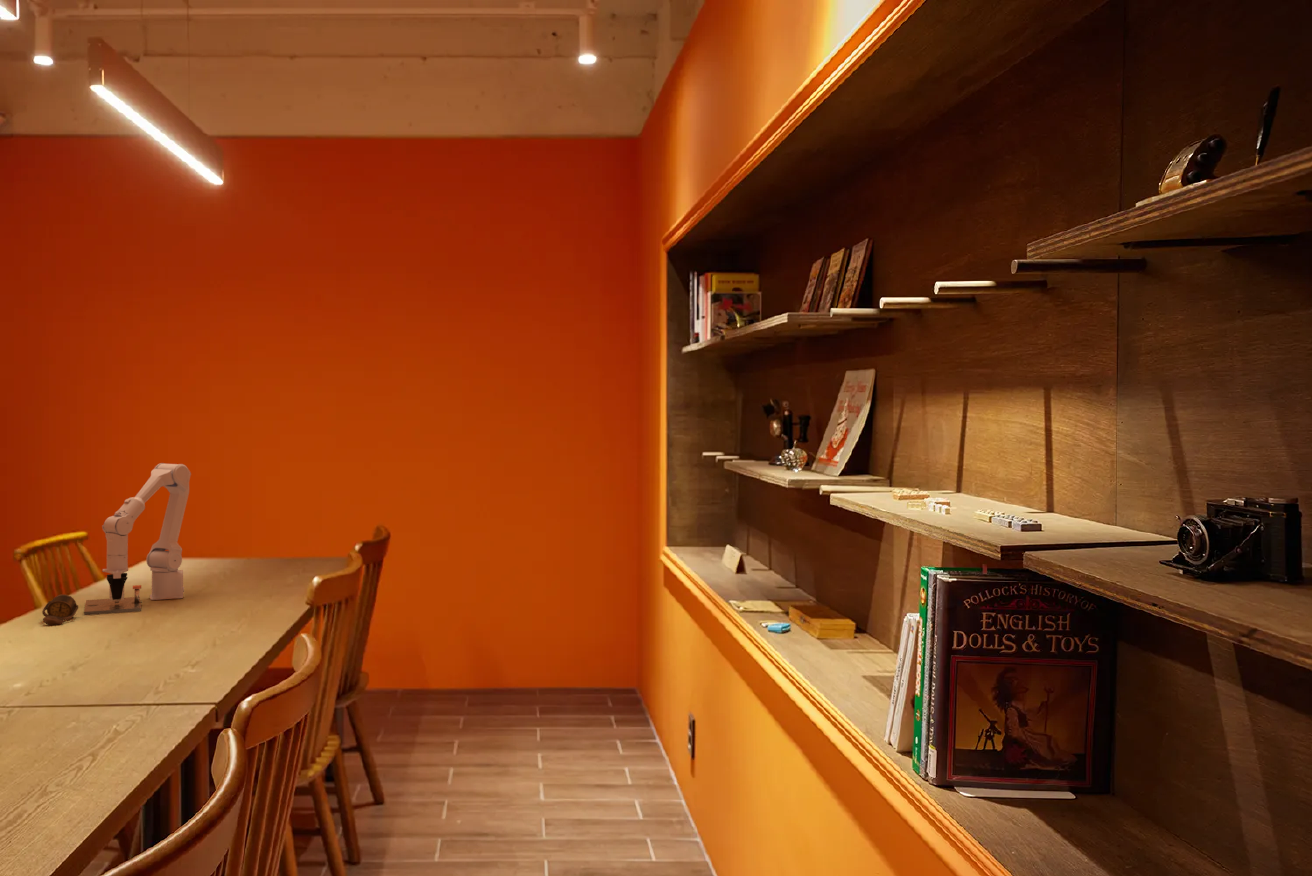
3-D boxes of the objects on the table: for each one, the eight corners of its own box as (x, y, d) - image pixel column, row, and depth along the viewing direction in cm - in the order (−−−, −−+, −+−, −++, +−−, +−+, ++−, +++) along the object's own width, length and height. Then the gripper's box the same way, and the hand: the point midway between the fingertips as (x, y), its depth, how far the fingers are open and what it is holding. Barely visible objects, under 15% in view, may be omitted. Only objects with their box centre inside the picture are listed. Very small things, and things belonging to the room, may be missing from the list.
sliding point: (124, 601, 304) (124, 582, 304) (124, 603, 301) (124, 584, 301) (109, 602, 302) (109, 582, 302) (109, 604, 299) (109, 585, 299)
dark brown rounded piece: (91, 599, 287) (60, 590, 287) (63, 603, 274) (30, 594, 274) (85, 622, 286) (53, 614, 287) (56, 628, 273) (23, 619, 274)
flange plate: (141, 599, 314) (141, 580, 313) (142, 611, 296) (142, 591, 296) (86, 603, 306) (86, 583, 306) (84, 615, 289) (84, 594, 289)
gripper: (102, 552, 306) (102, 595, 306) (102, 558, 293) (101, 603, 293) (128, 551, 309) (127, 593, 309) (128, 557, 296) (128, 601, 297)
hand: (116, 598), depth 301 cm, fingers closed on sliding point, 4 cm apart
